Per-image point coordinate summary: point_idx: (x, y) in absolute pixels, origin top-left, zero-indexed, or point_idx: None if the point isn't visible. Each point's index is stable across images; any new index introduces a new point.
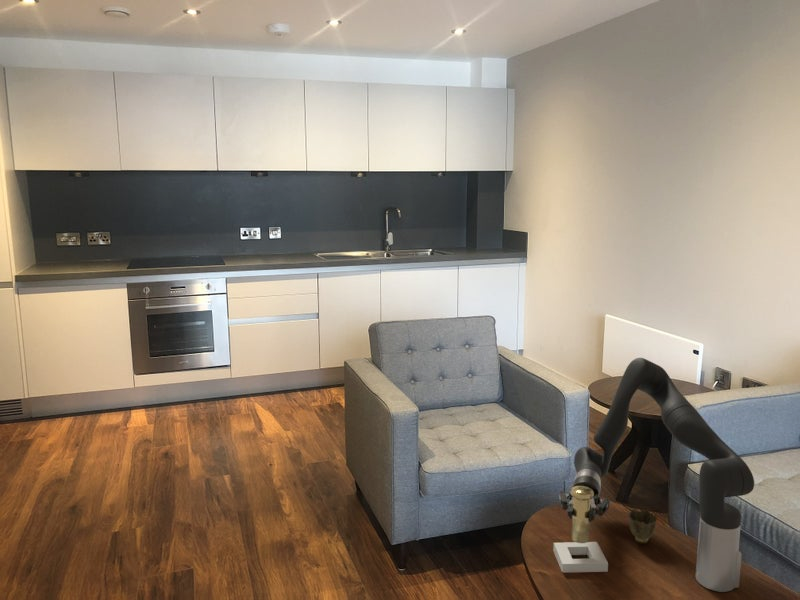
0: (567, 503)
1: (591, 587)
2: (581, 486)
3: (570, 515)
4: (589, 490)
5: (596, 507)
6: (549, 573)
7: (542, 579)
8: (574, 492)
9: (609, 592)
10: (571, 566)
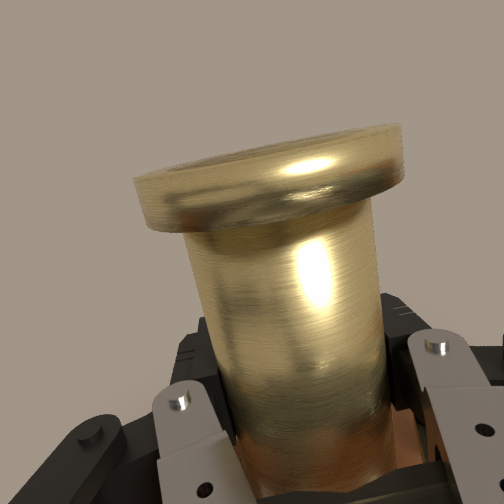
0: (487, 359)
1: (243, 464)
2: (305, 147)
3: None
4: (181, 169)
5: (148, 444)
6: (418, 462)
7: (413, 419)
8: (326, 134)
9: None
10: None
